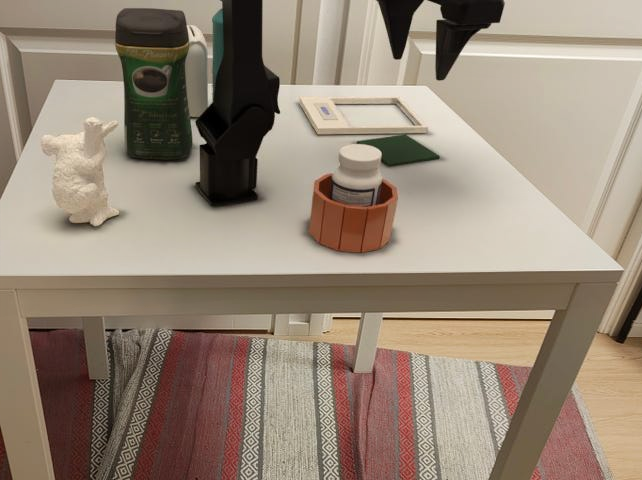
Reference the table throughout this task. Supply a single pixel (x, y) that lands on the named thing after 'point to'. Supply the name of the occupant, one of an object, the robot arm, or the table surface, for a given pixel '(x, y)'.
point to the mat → (400, 150)
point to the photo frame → (332, 121)
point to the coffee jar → (154, 82)
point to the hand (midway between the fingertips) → (417, 69)
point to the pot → (351, 219)
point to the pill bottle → (357, 176)
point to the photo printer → (196, 72)
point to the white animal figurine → (81, 172)
